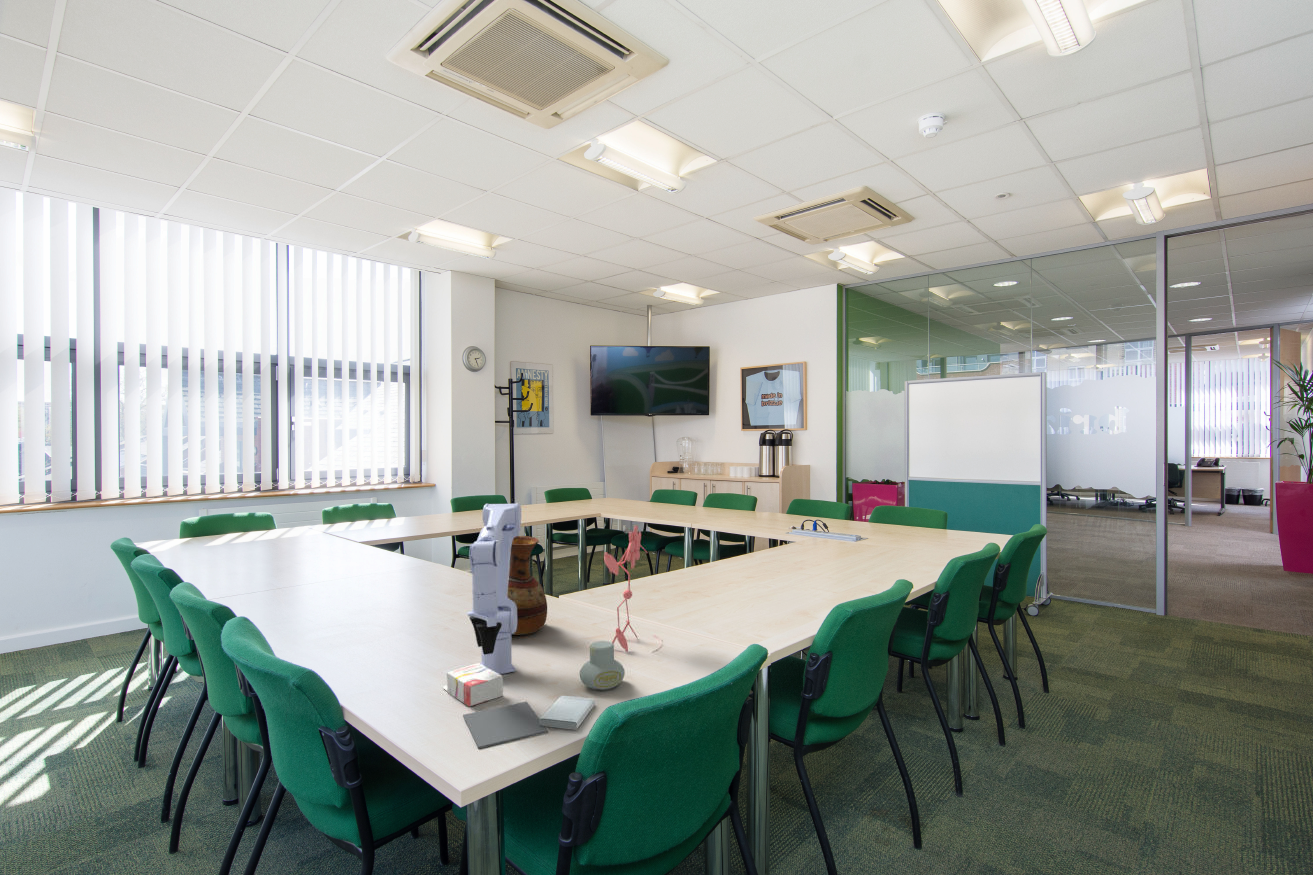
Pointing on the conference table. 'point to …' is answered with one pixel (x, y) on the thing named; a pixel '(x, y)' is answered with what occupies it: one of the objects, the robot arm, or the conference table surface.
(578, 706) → the hard drive
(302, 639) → the conference table surface
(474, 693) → the ink cartridge box
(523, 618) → the ceramic pitcher
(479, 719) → the mat
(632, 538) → the pink thin stick figure
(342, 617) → the conference table surface
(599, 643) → the air freshener
